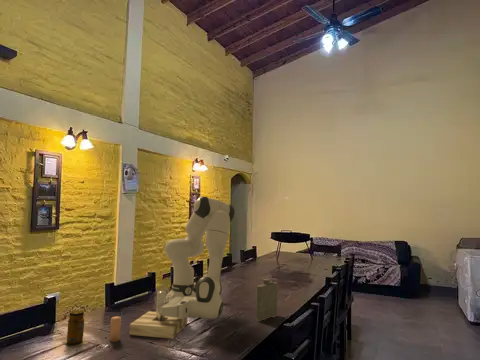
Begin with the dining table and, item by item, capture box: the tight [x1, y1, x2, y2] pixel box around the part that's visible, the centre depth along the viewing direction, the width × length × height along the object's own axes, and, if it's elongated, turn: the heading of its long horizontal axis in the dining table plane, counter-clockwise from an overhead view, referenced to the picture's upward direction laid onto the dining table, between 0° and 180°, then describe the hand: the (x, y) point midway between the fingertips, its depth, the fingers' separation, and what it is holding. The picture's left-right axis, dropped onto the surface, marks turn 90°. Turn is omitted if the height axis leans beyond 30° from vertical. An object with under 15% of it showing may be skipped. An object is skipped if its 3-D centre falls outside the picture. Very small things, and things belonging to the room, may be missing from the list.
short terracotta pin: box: [109, 316, 122, 343], centre depth 149 cm, size 4×4×9 cm
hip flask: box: [255, 278, 279, 321], centre depth 185 cm, size 16×4×20 cm, turn 138°
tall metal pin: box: [155, 290, 167, 321], centre depth 164 cm, size 4×4×16 cm
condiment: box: [61, 310, 89, 348], centre depth 145 cm, size 7×8×12 cm
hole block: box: [129, 310, 189, 339], centre depth 164 cm, size 20×20×4 cm
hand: (159, 304), depth 164 cm, fingers closed on tall metal pin, 4 cm apart
